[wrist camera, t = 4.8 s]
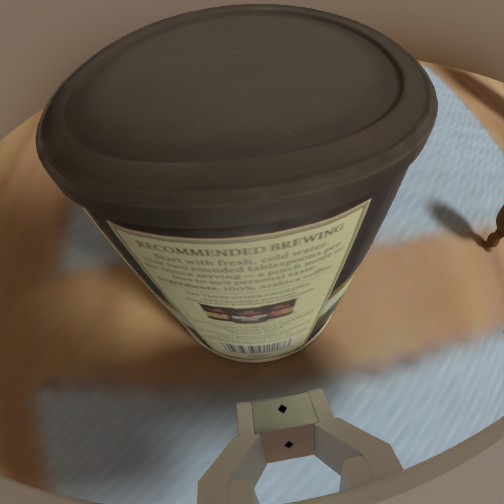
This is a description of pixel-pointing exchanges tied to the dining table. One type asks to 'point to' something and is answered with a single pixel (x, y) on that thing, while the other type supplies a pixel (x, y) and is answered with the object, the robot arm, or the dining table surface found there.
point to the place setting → (496, 232)
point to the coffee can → (241, 162)
